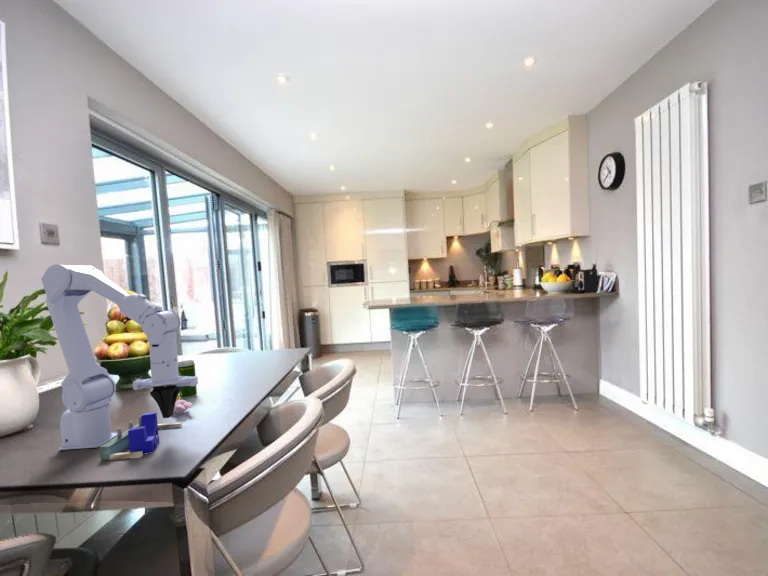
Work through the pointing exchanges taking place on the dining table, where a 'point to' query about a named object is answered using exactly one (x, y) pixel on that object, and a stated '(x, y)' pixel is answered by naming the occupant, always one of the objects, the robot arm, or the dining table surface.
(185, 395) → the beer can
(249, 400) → the dining table surface
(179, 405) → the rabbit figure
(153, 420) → the cable clip
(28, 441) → the dining table surface
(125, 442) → the pin bay
